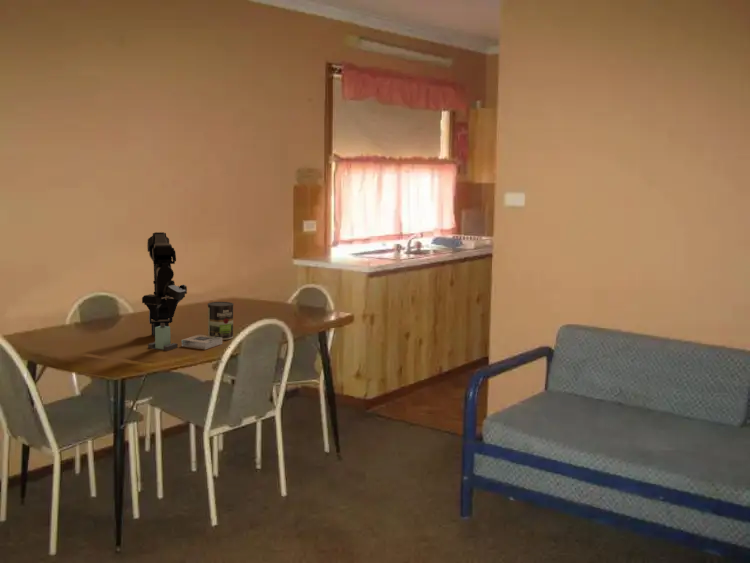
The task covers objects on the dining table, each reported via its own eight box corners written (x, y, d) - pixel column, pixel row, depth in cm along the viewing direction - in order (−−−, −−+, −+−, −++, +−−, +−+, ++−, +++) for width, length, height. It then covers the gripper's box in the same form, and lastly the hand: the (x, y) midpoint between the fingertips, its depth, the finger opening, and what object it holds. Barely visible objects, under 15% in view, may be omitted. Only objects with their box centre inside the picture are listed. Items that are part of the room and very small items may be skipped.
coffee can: (237, 338, 332) (237, 304, 330) (214, 341, 326) (214, 306, 324) (226, 333, 340) (226, 300, 338) (203, 336, 334) (203, 302, 332)
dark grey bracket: (148, 350, 308) (148, 344, 308) (158, 347, 314) (158, 341, 313) (167, 353, 305) (167, 346, 304) (177, 350, 310) (177, 343, 310)
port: (181, 348, 312) (181, 339, 312) (199, 343, 322) (199, 334, 322) (205, 352, 308) (205, 343, 307) (222, 346, 318) (222, 337, 317)
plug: (155, 348, 308) (154, 323, 307) (162, 346, 312) (161, 321, 310) (163, 349, 306) (163, 324, 305) (170, 347, 310) (170, 322, 309)
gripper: (165, 283, 294) (166, 325, 296) (196, 276, 311) (196, 316, 313) (140, 280, 298) (141, 322, 300) (172, 274, 315) (172, 314, 317)
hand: (164, 319), depth 308 cm, fingers open, 9 cm apart
